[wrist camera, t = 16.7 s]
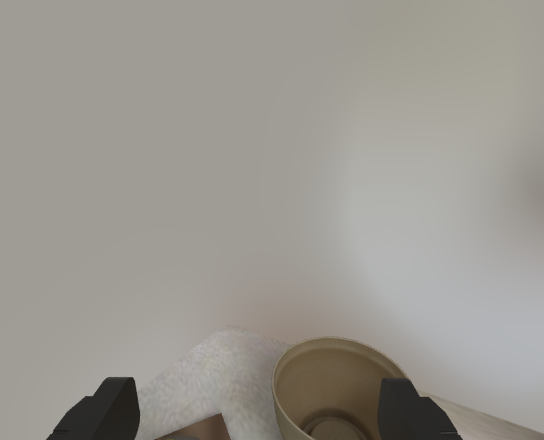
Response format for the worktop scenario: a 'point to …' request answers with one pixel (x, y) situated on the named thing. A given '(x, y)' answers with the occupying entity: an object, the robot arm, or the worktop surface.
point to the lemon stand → (201, 430)
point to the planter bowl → (330, 389)
